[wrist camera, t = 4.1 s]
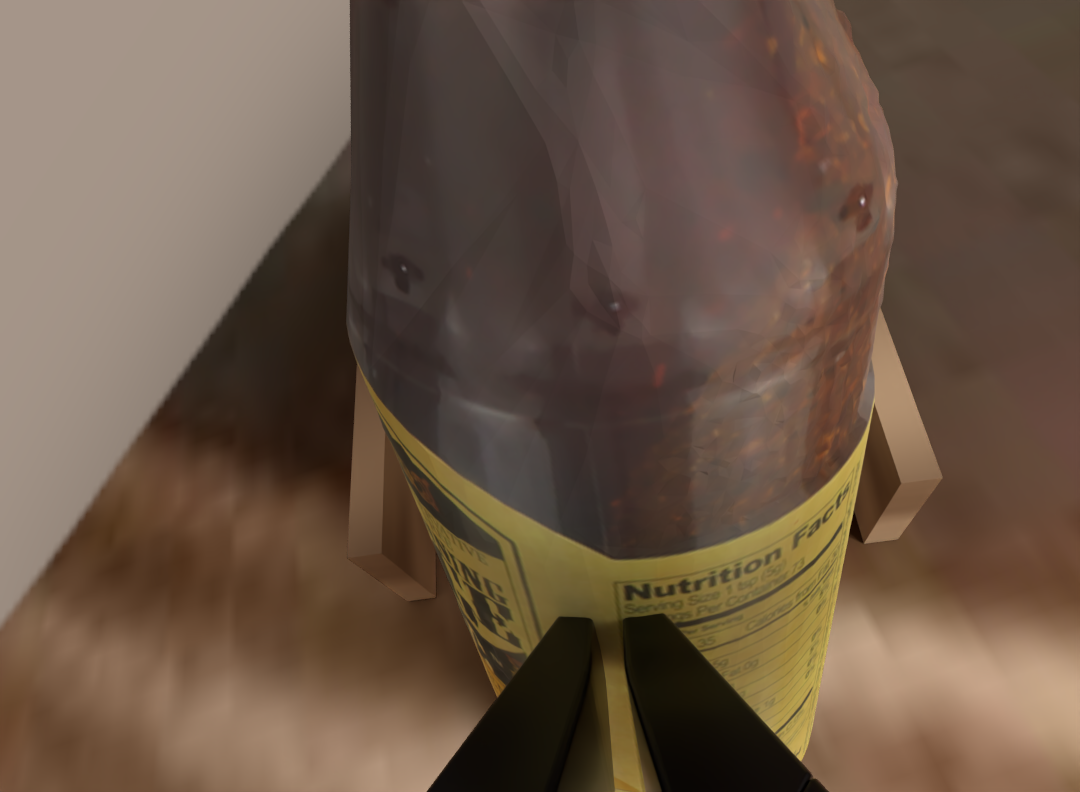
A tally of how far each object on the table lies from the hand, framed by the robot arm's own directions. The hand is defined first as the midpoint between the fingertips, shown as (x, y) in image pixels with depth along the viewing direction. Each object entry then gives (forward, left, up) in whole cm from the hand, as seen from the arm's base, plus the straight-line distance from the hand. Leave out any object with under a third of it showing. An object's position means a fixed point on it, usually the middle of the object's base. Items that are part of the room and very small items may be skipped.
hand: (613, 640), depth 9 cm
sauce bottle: (0, 0, -9) cm, 9 cm away
